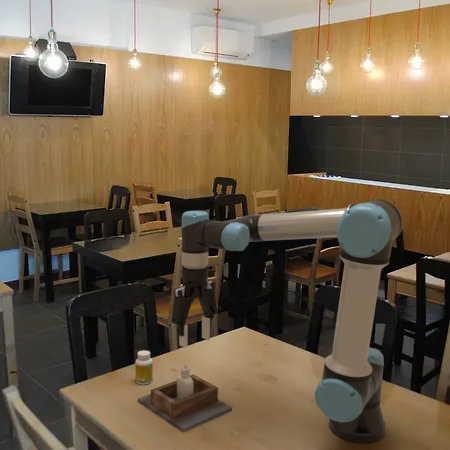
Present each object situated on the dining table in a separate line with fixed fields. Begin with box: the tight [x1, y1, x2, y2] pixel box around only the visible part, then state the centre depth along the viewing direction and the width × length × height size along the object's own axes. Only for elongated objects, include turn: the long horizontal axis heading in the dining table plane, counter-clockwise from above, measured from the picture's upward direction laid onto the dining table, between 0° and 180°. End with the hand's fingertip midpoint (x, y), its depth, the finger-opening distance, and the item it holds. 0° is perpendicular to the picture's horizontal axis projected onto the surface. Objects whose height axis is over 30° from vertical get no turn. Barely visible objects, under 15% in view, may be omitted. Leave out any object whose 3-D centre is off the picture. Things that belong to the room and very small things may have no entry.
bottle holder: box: [137, 373, 233, 433], centre depth 163 cm, size 22×18×6 cm
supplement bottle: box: [135, 350, 153, 385], centre depth 178 cm, size 5×5×10 cm
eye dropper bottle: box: [176, 363, 193, 400], centre depth 162 cm, size 4×6×12 cm
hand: (194, 342), depth 161 cm, fingers open, 8 cm apart
